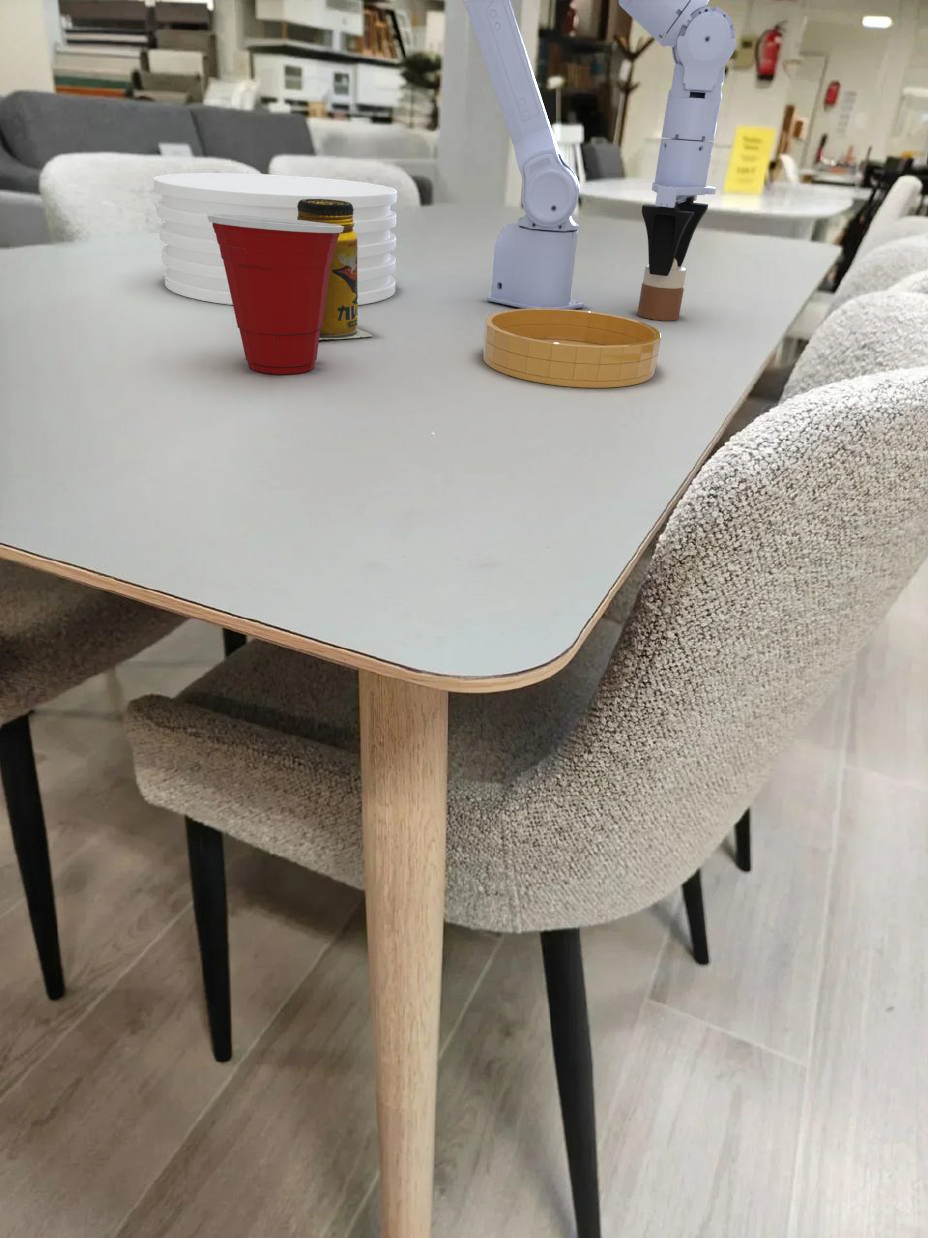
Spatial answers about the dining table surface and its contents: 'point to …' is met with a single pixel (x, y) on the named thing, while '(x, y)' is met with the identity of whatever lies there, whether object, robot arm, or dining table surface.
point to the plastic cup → (277, 286)
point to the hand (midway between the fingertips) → (665, 270)
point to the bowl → (570, 347)
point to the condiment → (338, 268)
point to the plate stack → (265, 195)
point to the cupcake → (662, 294)
